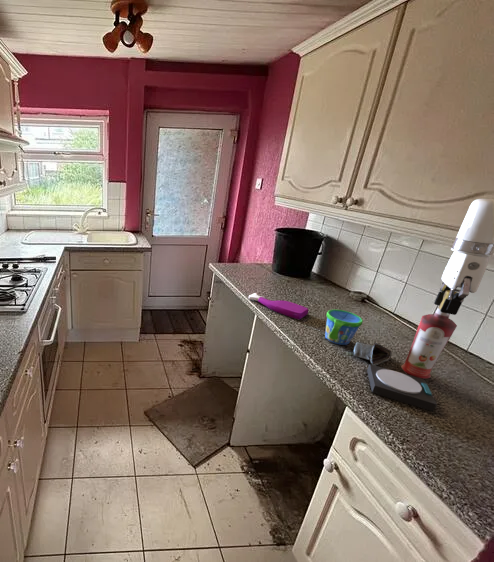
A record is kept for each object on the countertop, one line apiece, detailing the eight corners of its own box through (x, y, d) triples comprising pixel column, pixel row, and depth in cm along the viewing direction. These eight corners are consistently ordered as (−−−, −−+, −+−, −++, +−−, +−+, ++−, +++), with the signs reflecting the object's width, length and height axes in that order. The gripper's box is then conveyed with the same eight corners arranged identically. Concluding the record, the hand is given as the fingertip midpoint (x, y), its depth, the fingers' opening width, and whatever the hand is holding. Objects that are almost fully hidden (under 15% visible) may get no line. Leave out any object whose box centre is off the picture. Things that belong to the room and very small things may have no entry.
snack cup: (343, 354, 106) (352, 328, 102) (311, 339, 114) (318, 315, 110) (361, 340, 114) (370, 316, 110) (330, 328, 122) (338, 305, 118)
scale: (421, 386, 91) (425, 377, 90) (433, 411, 82) (437, 402, 81) (366, 370, 98) (370, 362, 97) (371, 392, 88) (375, 384, 87)
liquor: (430, 375, 97) (471, 292, 86) (429, 385, 92) (472, 299, 81) (400, 364, 101) (435, 285, 91) (397, 373, 97) (434, 291, 86)
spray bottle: (298, 321, 127) (243, 301, 145) (309, 314, 133) (256, 295, 151) (299, 314, 126) (244, 295, 144) (311, 308, 132) (257, 290, 150)
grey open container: (369, 348, 111) (355, 328, 106) (393, 353, 104) (379, 333, 100) (358, 370, 108) (343, 352, 104) (382, 377, 102) (367, 358, 98)
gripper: (509, 257, 73) (474, 325, 80) (479, 243, 87) (452, 302, 93) (465, 252, 77) (435, 317, 83) (443, 239, 90) (419, 296, 97)
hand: (444, 308), depth 88 cm, fingers open, 5 cm apart
